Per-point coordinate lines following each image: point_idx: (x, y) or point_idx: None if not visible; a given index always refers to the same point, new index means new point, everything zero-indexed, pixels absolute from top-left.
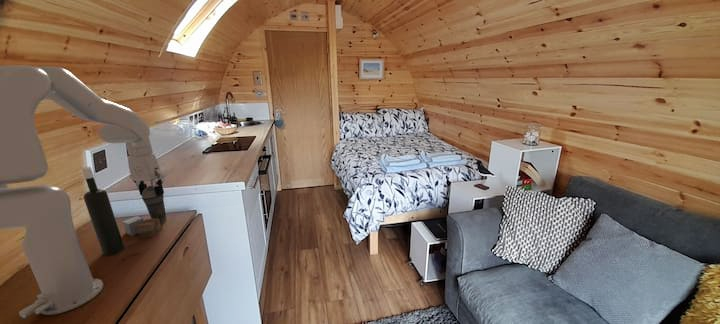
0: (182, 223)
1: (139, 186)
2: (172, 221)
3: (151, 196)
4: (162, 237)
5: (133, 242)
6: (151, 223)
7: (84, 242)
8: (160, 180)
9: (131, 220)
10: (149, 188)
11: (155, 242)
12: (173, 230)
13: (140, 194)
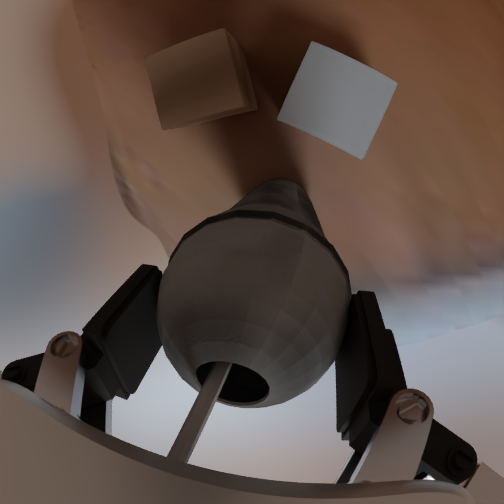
0: (145, 193)
1: (375, 386)
2: (212, 211)
3: (186, 245)
4: (133, 70)
5: (235, 10)
6: (149, 66)
7: (481, 42)
8: (3, 372)
9: (341, 89)
10: (197, 342)
11: (132, 36)
12: (133, 129)
13: (372, 297)
